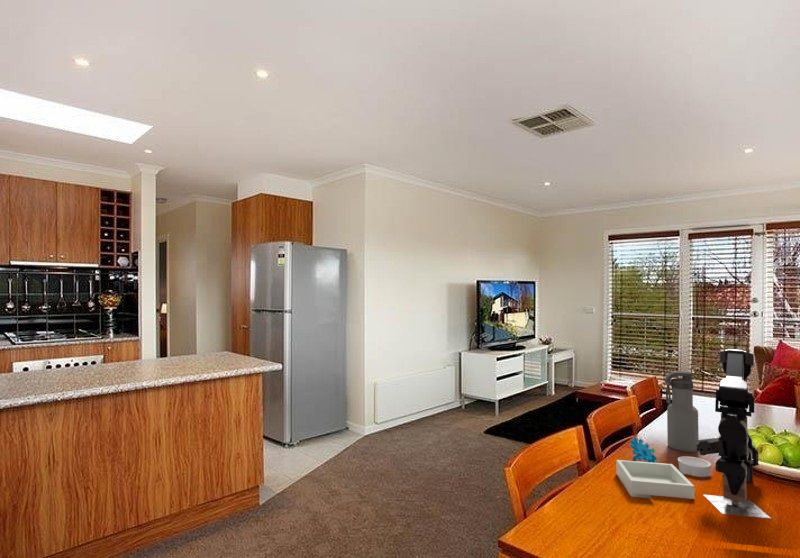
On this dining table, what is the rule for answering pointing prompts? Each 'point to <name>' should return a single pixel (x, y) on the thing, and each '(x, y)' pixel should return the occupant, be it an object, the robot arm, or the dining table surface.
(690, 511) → the dining table surface
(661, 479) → the bin
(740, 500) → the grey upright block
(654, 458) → the blue coral
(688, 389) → the water bottle
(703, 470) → the ramekin
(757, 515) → the stud plate
